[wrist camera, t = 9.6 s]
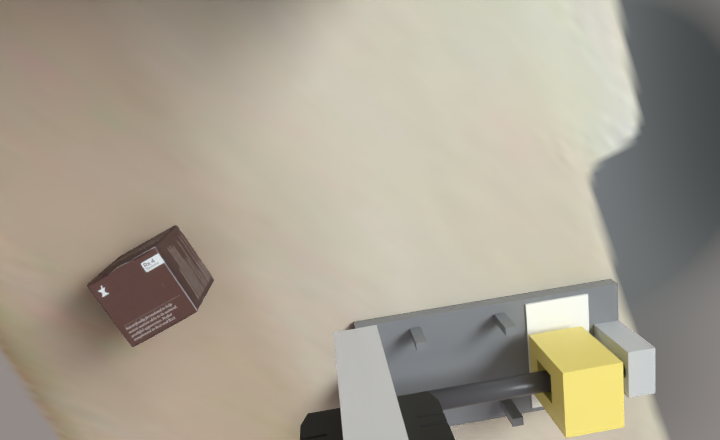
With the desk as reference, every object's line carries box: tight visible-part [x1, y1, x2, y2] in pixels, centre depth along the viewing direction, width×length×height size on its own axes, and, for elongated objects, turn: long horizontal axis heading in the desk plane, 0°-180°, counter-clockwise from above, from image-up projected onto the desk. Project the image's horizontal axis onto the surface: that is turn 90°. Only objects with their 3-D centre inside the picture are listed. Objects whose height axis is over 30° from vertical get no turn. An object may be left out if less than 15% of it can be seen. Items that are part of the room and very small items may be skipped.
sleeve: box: [529, 326, 624, 438], centre depth 46 cm, size 6×5×7 cm
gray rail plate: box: [354, 279, 655, 427], centre depth 48 cm, size 12×25×7 cm, turn 98°
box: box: [87, 225, 214, 347], centre depth 43 cm, size 6×6×7 cm
